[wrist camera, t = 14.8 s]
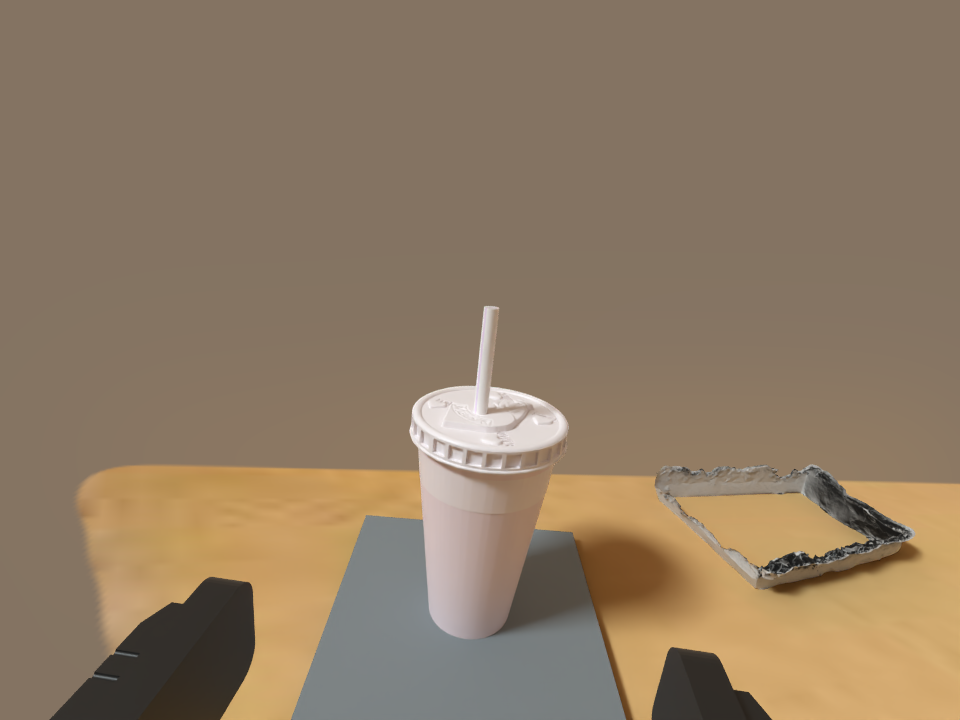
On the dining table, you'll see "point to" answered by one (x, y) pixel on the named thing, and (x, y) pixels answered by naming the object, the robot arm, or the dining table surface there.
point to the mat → (458, 642)
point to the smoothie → (481, 491)
